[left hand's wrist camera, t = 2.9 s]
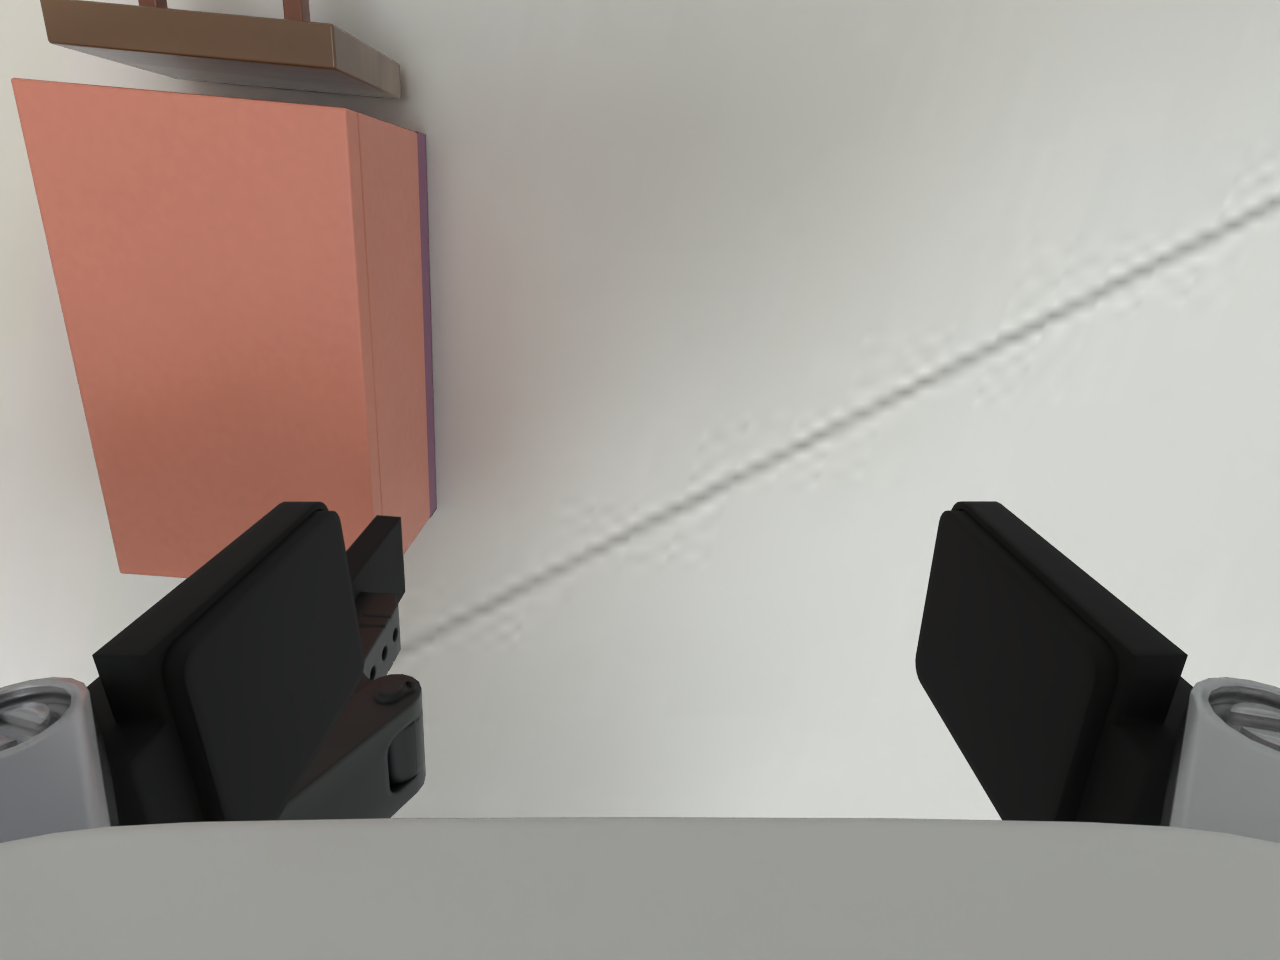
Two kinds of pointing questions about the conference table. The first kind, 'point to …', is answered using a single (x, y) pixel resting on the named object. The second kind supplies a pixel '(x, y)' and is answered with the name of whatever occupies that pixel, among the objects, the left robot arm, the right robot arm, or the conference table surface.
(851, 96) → the conference table surface
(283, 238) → the open pink storage bin
